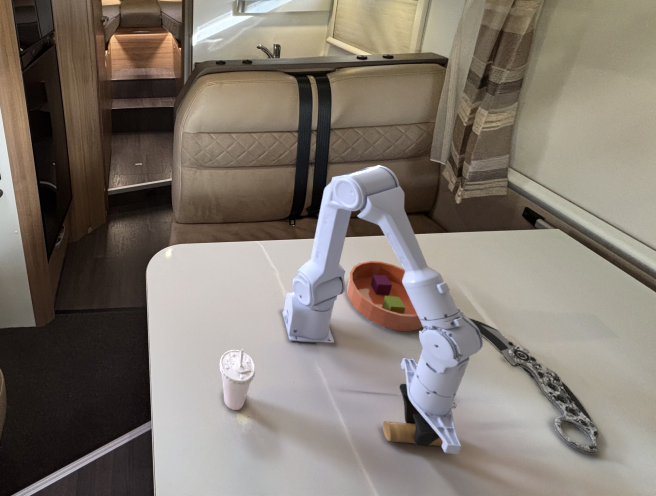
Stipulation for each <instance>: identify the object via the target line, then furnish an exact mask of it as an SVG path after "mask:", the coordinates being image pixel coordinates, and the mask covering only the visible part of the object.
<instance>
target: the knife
mask: <svg viewBox="0 0 656 496" xmlns="http://www.w3.org/2000/svg"><path fill="white" fill-rule="evenodd" d="M467 318H468V319H470V320H471V321H472V322H473V323H474V324H475V325H476V326H477V327H478V329H479V330H480V334H481V336H482V337H483V338H484V339H486V340H487V341H489V343H491V344H492V346H494V348H495V349H496V350H497V351H498V352H499V353H501V354H502V356H503V357H504V359H505V360H506V361H507V362H508V363H509V364H510V365H512V366H513V367H514V366H519V367H522V368H523V369H524V370H525V371H526V373H528V374H529V375H530V377H532V379H533V380H534V381H535V382H536V384H538V386H539V388H540V390H541V391H542V393H543V394H544V396H545V397H546V398H547V399H548V400H549V401H550V402H551V403H552V404H553V405H554V406H555V407H556V408H557V409H558V410H559V411H560V413H561V414H562V415H561V416H558V417H556V418H555V420H554V422H553V429H554V430H555V432H556V434H557V435H558V436H559V438H560V439H562V441H563V442H565V443H566V444H567V445H568V446H570V447H571V448H573V449H574V450H576V451H579V452H580V453H584V454H587V455H595V454H597V452H598V444H597V440H598V439H599V436H600V433H599V431H598V428H597V425H596V424H595V423H594V422H593V420H592V418H591V416H590V415H589V413H588V412H587V410H586V408H585V407H584V405H583V404H582V402H580V400H579V399H578V397H577V396H576V395H575V394H574V392H573V391H572V390H571V389H570V388H569V387H568V386H567V385H566V383H564V382H563V381H562V378H561V377H560V375H558V374H557V373H556V372H555V371H553V370H552V369H550V368H548V367H547V366H545V365H544V364H543V363H542V362H540V361H539V360H538V359H536V358H535V357H534V355H533V354H531V352H530V351H529V350H528V349H526V348H525V347H523V346H521V345H520V344H514V343H513V342H512V341H511V340H509V339H508V338H506V336H505V335H503V333H502V332H501V331H500V330H499V329H497V328H495V327H492V325H491V326H490V325H488V324H486V323H484V322H482V321H480V320H477V319H473V318H471V317H467ZM551 387H552V388H553V389H552V388H551ZM554 389H555V390H554ZM561 400H562V401H563V402H562V401H561ZM562 424H567V425H571V426H573V427H575V428H577V429H578V430H580V431H581V432H582V433H584V435H586V437H587V438H588V439H589V441H590V445H584V444H580V443H579V442H576V441H575V440H573V439H571V438H570V437H569V436H568V435H567V434H566V433H565V432H564V431H563V429H562V427H561V425H562Z"/></svg>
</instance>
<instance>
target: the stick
mask: <svg viewBox="0 0 656 496" xmlns="http://www.w3.org/2000/svg"><path fill="white" fill-rule="evenodd" d="M415 429H416V425H415V424H411V423H406V422H401V421H400V422H399V421H398V422H397V421H386V420H384V421H383V423H382V431H383V435H384V437H385V439H386V441H388V442H394V443H395V442H396V443H405V444H415V441H414V434H415ZM442 443H443V441H442V439H441V438H438V439H437V440H435V441H434V442H432V443H431V444H430V445H429V446H439V447H442Z"/></svg>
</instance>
